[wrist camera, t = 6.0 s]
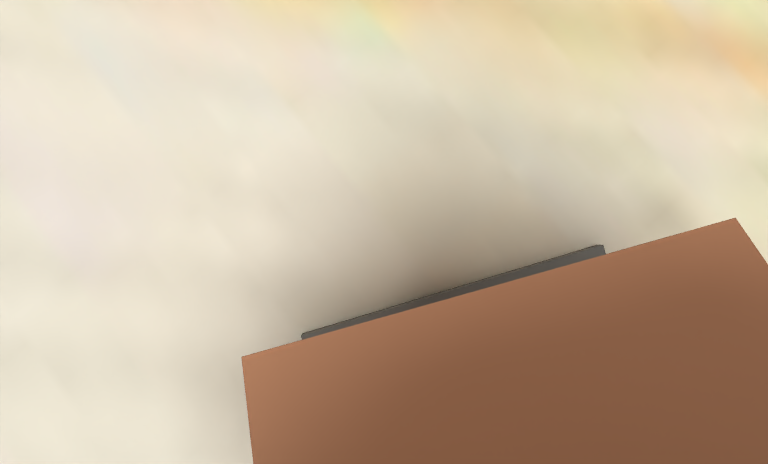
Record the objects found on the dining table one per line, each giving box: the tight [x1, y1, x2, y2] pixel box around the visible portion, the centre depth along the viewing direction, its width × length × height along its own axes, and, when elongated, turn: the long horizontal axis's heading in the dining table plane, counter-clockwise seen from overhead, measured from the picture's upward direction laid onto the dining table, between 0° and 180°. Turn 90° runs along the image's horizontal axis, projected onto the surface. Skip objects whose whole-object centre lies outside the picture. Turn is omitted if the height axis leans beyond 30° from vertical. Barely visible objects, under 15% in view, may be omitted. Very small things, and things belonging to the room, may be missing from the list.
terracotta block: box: [242, 218, 768, 464], centre depth 9 cm, size 5×5×13 cm
